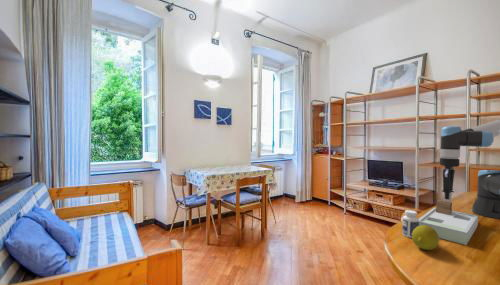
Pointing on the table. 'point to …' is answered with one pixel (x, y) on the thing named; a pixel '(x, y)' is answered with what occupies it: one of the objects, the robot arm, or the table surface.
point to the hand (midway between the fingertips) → (447, 205)
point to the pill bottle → (409, 223)
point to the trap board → (451, 225)
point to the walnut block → (444, 207)
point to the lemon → (425, 237)
